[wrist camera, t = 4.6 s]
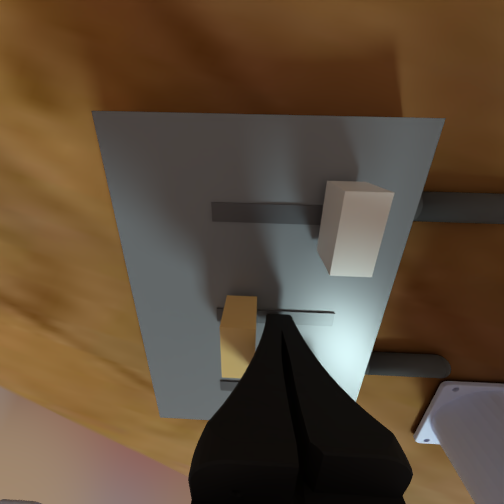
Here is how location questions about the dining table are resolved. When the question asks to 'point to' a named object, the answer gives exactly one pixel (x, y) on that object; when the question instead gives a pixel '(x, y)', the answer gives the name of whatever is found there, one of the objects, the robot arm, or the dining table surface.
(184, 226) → the grey slider panel
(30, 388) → the dining table surface
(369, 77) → the dining table surface
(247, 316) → the paddle middle
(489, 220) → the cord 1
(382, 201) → the paddle
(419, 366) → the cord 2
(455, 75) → the dining table surface
